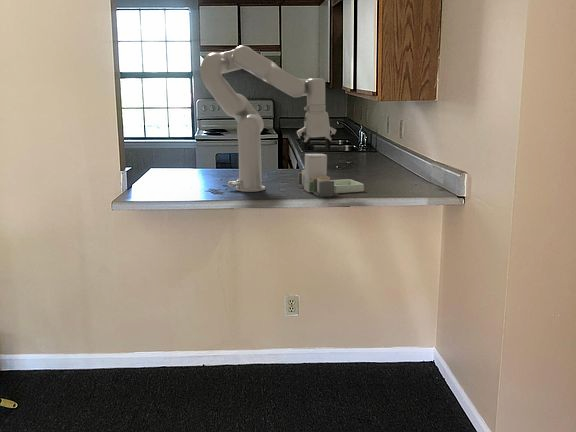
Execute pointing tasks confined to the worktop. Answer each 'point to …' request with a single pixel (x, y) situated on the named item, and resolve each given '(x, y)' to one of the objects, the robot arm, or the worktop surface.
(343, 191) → the tray
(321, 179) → the cartridges
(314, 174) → the skincare box
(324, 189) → the rail
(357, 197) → the worktop surface
